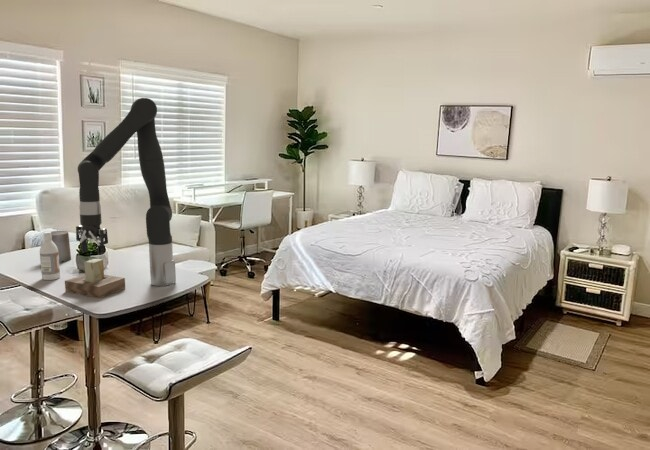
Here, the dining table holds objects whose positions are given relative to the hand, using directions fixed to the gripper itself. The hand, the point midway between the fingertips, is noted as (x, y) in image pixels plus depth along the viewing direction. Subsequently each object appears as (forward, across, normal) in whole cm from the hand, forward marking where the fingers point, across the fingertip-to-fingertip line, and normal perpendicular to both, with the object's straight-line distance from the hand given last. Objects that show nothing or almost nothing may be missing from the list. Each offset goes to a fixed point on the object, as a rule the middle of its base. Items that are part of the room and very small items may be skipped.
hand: (92, 253), depth 200 cm
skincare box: (+15, 0, 0) cm, 15 cm away
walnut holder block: (+15, 0, 0) cm, 15 cm away
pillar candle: (+16, +53, -27) cm, 61 cm away
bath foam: (+16, +30, -4) cm, 34 cm away
